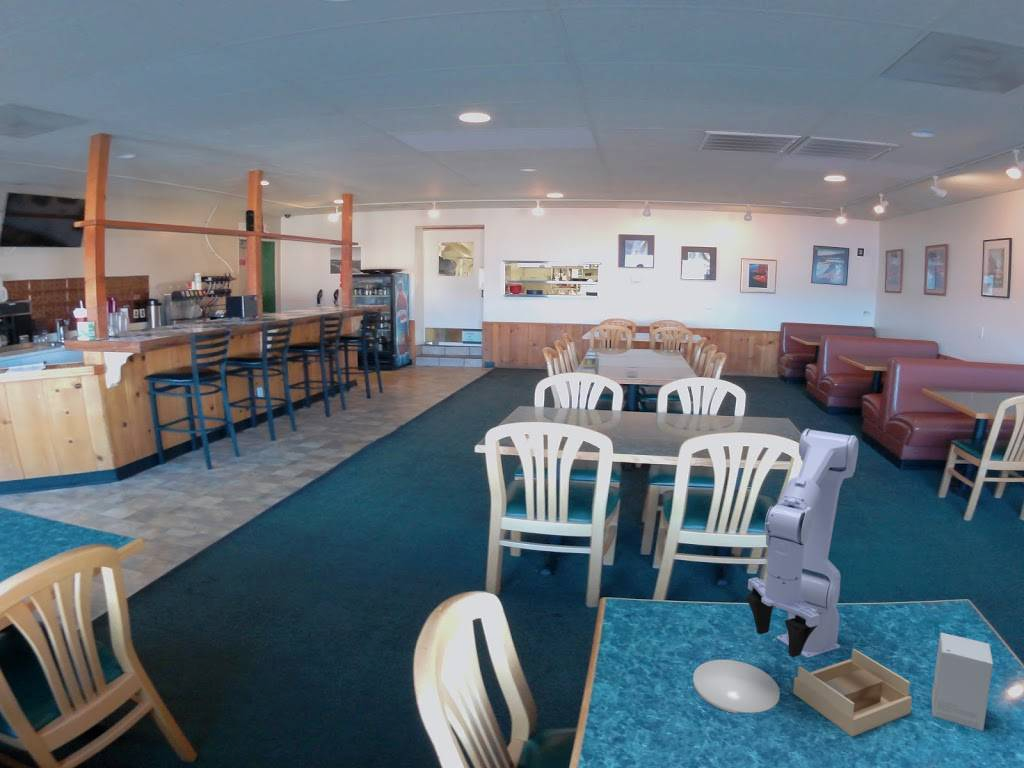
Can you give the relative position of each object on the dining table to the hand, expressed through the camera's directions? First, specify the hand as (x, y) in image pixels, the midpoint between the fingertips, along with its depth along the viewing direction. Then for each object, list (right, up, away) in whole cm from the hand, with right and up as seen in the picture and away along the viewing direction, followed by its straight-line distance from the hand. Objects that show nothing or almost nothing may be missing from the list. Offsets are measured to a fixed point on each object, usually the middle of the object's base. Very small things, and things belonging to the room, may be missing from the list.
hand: (778, 643), depth 118 cm
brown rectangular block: (+12, -10, -2) cm, 16 cm away
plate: (-7, -9, +3) cm, 12 cm away
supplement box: (+29, -11, -4) cm, 32 cm away
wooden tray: (+12, -10, -2) cm, 16 cm away
